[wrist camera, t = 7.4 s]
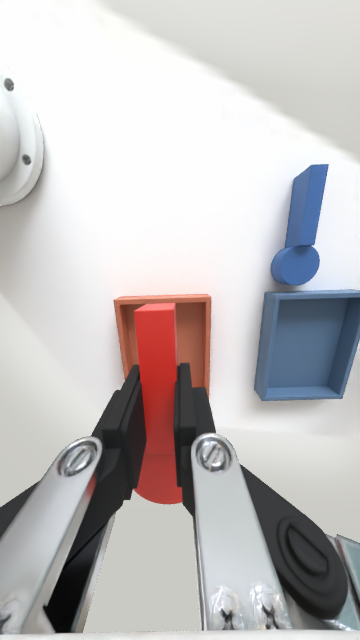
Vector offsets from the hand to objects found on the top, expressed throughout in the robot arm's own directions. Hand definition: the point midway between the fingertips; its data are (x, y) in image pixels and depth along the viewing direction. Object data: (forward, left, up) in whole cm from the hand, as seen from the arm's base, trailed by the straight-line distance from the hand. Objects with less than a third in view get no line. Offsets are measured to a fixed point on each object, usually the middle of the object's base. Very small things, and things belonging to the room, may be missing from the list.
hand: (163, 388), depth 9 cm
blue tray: (+4, +18, -14) cm, 23 cm away
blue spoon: (-10, +14, -14) cm, 23 cm away
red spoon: (+1, 0, -1) cm, 1 cm away
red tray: (+4, -1, -14) cm, 15 cm away
